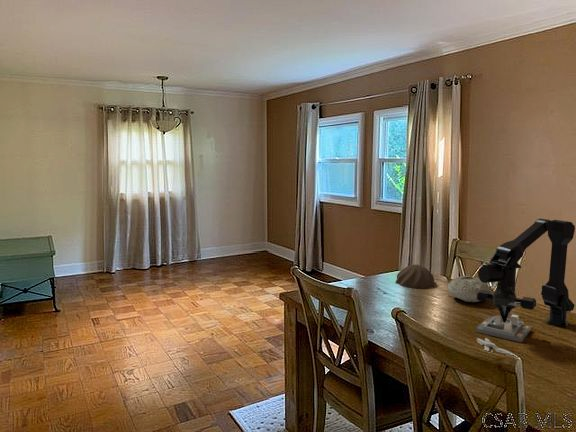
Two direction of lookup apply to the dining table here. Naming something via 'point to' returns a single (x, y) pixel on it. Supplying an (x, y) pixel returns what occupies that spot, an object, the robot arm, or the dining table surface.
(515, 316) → the tab
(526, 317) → the dining table surface
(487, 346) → the pliers
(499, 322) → the tab
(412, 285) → the decorative dome
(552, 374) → the dining table surface
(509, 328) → the tab
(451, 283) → the grey rounded stone
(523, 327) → the switch bank
